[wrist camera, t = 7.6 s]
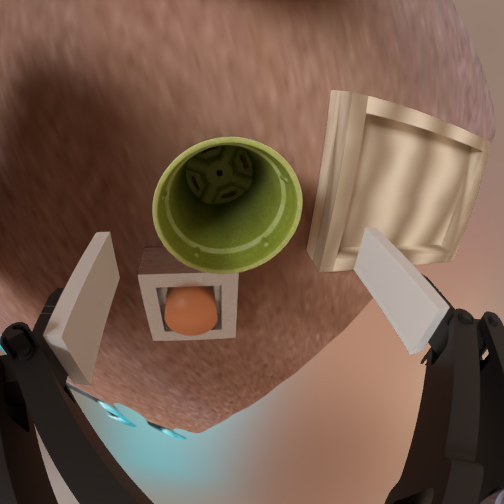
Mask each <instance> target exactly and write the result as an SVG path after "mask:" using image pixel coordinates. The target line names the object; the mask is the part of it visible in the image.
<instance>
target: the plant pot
mask: <svg viewBox="0 0 504 504" xmlns="http://www.w3.org/2000/svg"><path fill="white" fill-rule="evenodd" d="M215 146H216V147H217V148H216V149H213V150H209V151H207V152H205V153H203V154H202V151H203V150H205V149H208V148H211V147H215ZM240 155H241V156H244V158H245V160H246V162H247V168H246V169H245V168H244V166H243V162H242V160H241V158H240ZM218 170H220V171H222V175H221V176H218V175H217V171H218ZM192 176H194V177H195V180H196V182H197V184H198V186H199V187H200V188H199V189H196V187H195V185H194V184H193V183H192V180H191V177H192ZM233 190H235V191H236V193H235V194H234V195H232V196H229V197H226V198H223V197H222V195H224V194H227V193H230V192H232V191H233ZM302 205H303V198H302V191H301V187H300V183H299V181H298V178H297V176H296V174H295V172H294V170H293V169H292V167H291V166H290V164H289V163H288V162H287V161H286V160H285V159H284V158H283V157H282V156H281V155H280V154H279V153H277V152H276V151H275V150H273V149H272V148H270V147H269V146H267V145H265V144H263V143H260V142H258V141H255V140H252V139H248V138H243V137H219V138H213V139H209V140H206V141H203V142H200V143H198V144H196V145H194V146H192V147H190V148H188V149H187V150H186V151H184V152H183V153H181V154H180V155H179V156H178V157H177V158H176V159H175V160H174V161H173V162H172V163H171V164H170V165H169V166H168V167H167V169H166V170H165V172H164V173H163V175H162V176H161V178H160V180H159V182H158V185H157V187H156V190H155V193H154V198H153V206H152V213H153V221H154V226H155V229H156V232H157V234H158V236H159V238H160V240H161V241H162V243H163V245H164V246H165V247H166V249H167V250H168V251H169V252H170V253H171V254H172V255H173V256H174V257H175V258H176V259H178V260H179V261H180V262H182V263H183V264H185V265H187V266H189V267H192V268H194V269H196V270H199V271H202V272H206V273H212V274H233V273H239V272H244V271H247V270H249V269H253V268H255V267H257V266H260V265H262V264H264V263H265V262H267V261H269V260H270V259H271V258H273V257H274V256H275V255H276V254H278V253H279V252H280V251H281V250H282V249H283V248H284V247H285V246H286V245H287V243H288V242H289V240H290V239H291V237H292V236H293V235H294V233H295V231H296V229H297V227H298V224H299V221H300V218H301V213H302Z"/></svg>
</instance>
